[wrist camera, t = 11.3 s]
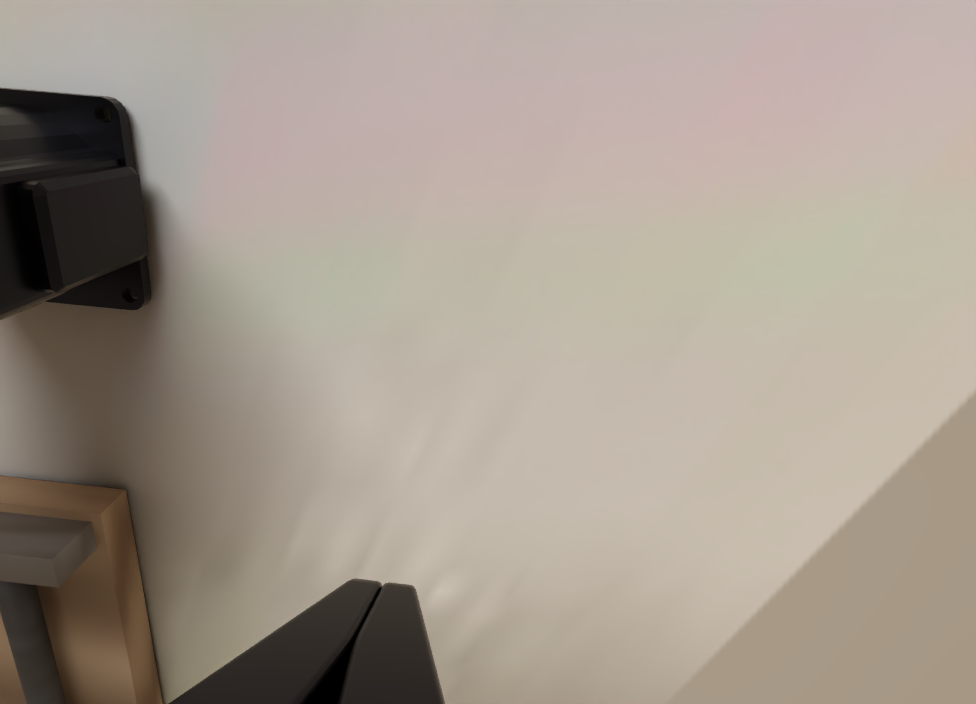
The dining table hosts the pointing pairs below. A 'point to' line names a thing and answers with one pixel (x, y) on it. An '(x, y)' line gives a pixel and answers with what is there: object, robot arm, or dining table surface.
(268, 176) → the dining table surface
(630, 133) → the dining table surface
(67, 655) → the cord board
